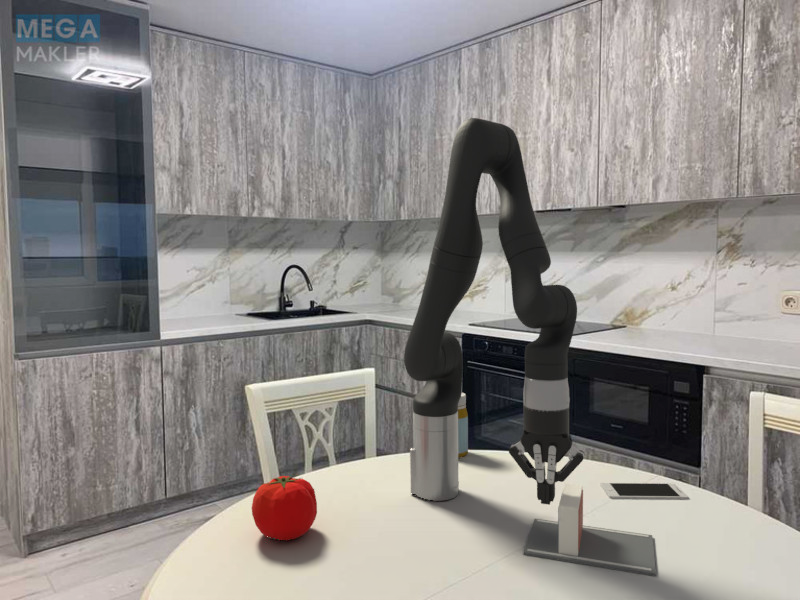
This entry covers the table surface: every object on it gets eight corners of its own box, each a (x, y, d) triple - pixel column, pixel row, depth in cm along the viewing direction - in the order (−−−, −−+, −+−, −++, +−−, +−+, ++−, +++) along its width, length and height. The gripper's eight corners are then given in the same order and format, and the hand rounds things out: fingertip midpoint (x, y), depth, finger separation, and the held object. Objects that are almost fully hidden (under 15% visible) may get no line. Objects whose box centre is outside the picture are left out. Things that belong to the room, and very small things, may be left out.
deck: (557, 553, 97) (557, 505, 96) (563, 526, 106) (563, 482, 105) (578, 556, 95) (579, 508, 95) (582, 529, 105) (583, 485, 104)
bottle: (470, 450, 148) (470, 391, 147) (464, 460, 142) (463, 398, 141) (443, 448, 151) (443, 390, 149) (436, 457, 144) (435, 396, 143)
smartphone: (599, 486, 126) (599, 482, 126) (674, 487, 125) (674, 482, 125) (609, 500, 118) (609, 495, 118) (688, 501, 118) (689, 496, 118)
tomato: (329, 539, 103) (327, 481, 103) (265, 557, 98) (262, 496, 97) (303, 514, 114) (301, 461, 113) (244, 529, 108) (242, 474, 107)
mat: (523, 554, 97) (523, 551, 97) (534, 520, 109) (534, 518, 109) (655, 576, 90) (655, 572, 90) (652, 537, 102) (652, 534, 102)
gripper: (502, 405, 99) (503, 506, 100) (585, 411, 94) (584, 517, 96) (511, 395, 106) (511, 489, 107) (588, 400, 101) (588, 499, 103)
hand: (546, 502), depth 101 cm, fingers closed
